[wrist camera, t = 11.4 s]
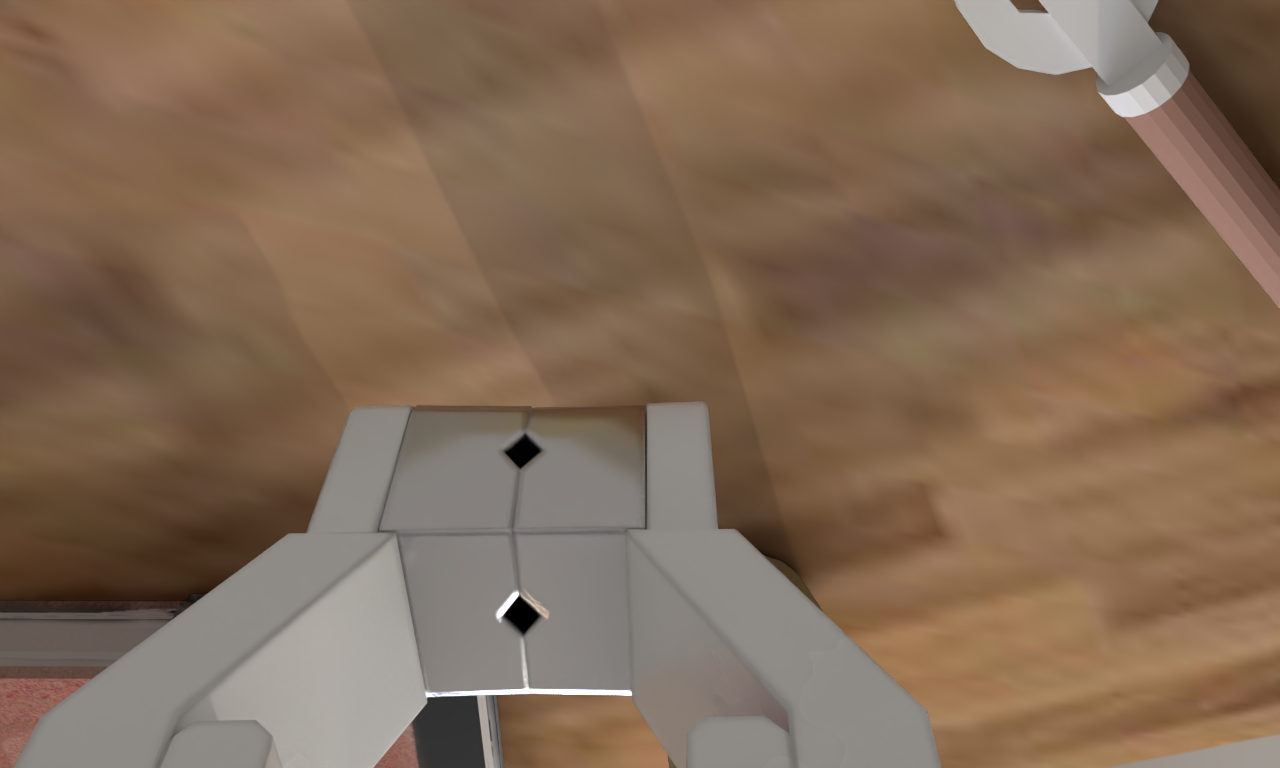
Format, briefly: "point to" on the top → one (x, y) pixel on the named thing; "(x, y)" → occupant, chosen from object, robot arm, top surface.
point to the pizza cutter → (1149, 108)
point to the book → (106, 630)
